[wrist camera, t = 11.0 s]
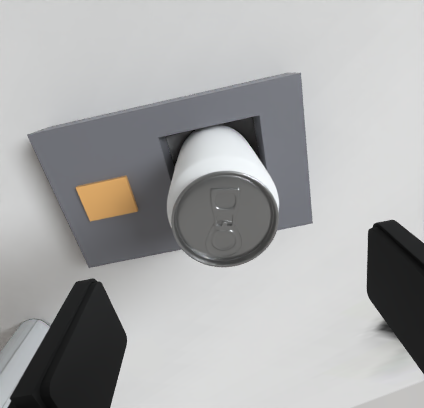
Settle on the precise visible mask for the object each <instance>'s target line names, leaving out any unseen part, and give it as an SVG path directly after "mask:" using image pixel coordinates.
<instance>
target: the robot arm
mask: <svg viewBox="0 0 424 408" xmlns="http://www.w3.org/2000/svg"><path fill="white" fill-rule="evenodd" d="M367 294H368V296H369V299H370V300H371V302H372V303H373V304H374V306H375V307H376V309H377V310H378V311H379V313H380V314H381V316H382V317H383V318H384V320H385V321H386V322H387V324H388V325H389V327H390V328H391V329H392V331H393V332H394V333H395V335H396V336H397V338H398V339H399V340H400V342H401V343H402V344H403V346H404V347H405V349H406V350H407V351H408V353H409V354H410V355H411V357H412V358H413V360H414V361H415V362H416V364H417V365H418V367H419V368H420V369H421V371H422V372H423V373H424V243H423V242H421V241H420V240H419V239H418V238H416V237H415V236H414V235H413V234H411V233H410V232H409V231H408V230H406V229H405V228H404V227H403V226H401V225H400V224H399V223H398V222H396V221H395V220H389V221H384V222H379V223H375V224H374V225H373V228H371V229H369V231H368V260H367ZM126 345H127V336H126V333H125V331H124V329H123V327H122V325H121V322H120V320H119V318H118V316H117V314H116V312H115V310H114V308H113V306H112V304H111V301H110V299H109V297H108V295H107V293H106V291H105V289H104V287H103V285H102V283H101V282H97V281H96V280H95V279H88V280H82V281H78V282H76V283H75V284H74V286H73V288H72V290H71V291H70V293H69V295H68V297H67V298H66V300H65V302H64V304H63V305H62V307H61V309H60V311H59V312H58V314H57V316H56V318H55V319H54V321H53V323H52V325H51V326H50V328H49V330H48V332H47V333H46V335H45V337H44V339H43V340H42V342H41V344H40V346H39V347H38V349H37V351H36V353H35V354H34V356H33V358H32V360H31V361H30V363H29V365H28V367H27V368H26V370H25V372H24V374H23V375H22V377H21V379H20V381H19V382H18V384H17V386H16V388H15V389H14V391H13V393H12V395H11V396H10V398H9V399H10V400H11V402H10V404H9V406H8V408H110V406H111V402H112V398H113V395H114V391H115V387H116V383H117V379H118V375H119V372H120V368H121V364H122V360H123V356H124V353H125V349H126Z"/></svg>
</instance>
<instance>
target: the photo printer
mask: <svg viewBox="0 0 424 408" xmlns="http://www.w3.org/2000/svg"><path fill="white" fill-rule="evenodd" d="M49 328H50V326H48V325H47V324H46V323H44V322H43V321H41V320H37V319H31V320H27V321H25V322H23V323H22V324H21V325H20V326H19V328H18V329H17V330H16V332H15V333H14V334H13V336H12V337H11V338H10V340H9V341H8V342H7V344H6V345H5V346H4V348H3V349H2V350H1V352H0V408H8V406H9V404H10V402H11V400H10V399H9V398H10V396H11V395H12V393H13V391H14V389H15V388H16V386H17V384H18V382H19V381H20V379H21V377H22V375H23V374H24V372H25V370H26V368H27V367H28V365H29V363H30V361H31V360H32V358H33V356H34V354H35V353H36V351H37V349H38V347H39V346H40V344H41V342H42V340H43V339H44V337H45V335H46V333H47V332H48V330H49Z"/></svg>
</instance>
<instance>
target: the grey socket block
mask: <svg viewBox="0 0 424 408" xmlns="http://www.w3.org/2000/svg"><path fill="white" fill-rule="evenodd" d="M249 117H253V121H254V127H255V134H256V141H257V148H258V154H259V160H260V161H261V163H262V164H263V166H264V167H265V169H266V170H267V172H268V173H269V175H270V177H271V178H272V180H273V182H274V184H275V187H276V190H277V193H278V197H279V223H278V228H277V230H281V229H286V228H291V227H296V226H301V225H306V224H311V223H313V222H312V210H311V197H310V184H309V171H308V159H307V146H306V133H305V120H304V108H303V95H302V82H301V73H285V74H280V75H276V76H272V77H267V78H263V79H258V80H254V81H250V82H245V83H241V84H236V85H232V86H228V87H223V88H219V89H214V90H210V91H206V92H201V93H197V94H192V95H188V96H184V97H179V98H175V99H170V100H166V101H162V102H157V103H153V104H148V105H144V106H140V107H135V108H131V109H126V110H122V111H118V112H113V113H109V114H104V115H100V116H96V117H91V118H87V119H82V120H78V121H74V122H69V123H65V124H60V125H56V126H52V127H48V128H45V129H42V130H40V131H37V132H34V133H31V134H28V135H27V136H28V138H29V140H30V142H31V144H32V146H33V149H34V151H35V153H36V155H37V157H38V159H39V161H40V164H41V166H42V168H43V170H44V172H45V174H46V176H47V179H48V181H49V183H50V185H51V187H52V189H53V192H54V194H55V196H56V198H57V200H58V202H59V204H60V207H61V209H62V211H63V213H64V215H65V217H66V219H67V222H68V224H69V226H70V228H71V230H72V232H73V234H74V237H75V239H76V241H77V243H78V245H79V247H80V250H81V252H82V254H83V256H84V258H85V260H86V262H87V265H88V267H89V268H90V267H95V266H100V265H105V264H110V263H115V262H120V261H125V260H130V259H135V258H140V257H145V256H150V255H156V254H161V253H166V252H171V251H176V250H181V247H180V246H179V245H178V243H177V241H176V239H175V237H174V234H173V231H172V228H171V226H170V223H169V220H168V215H167V199H168V193H169V189H170V185H171V181H172V177H173V174H174V170H175V169H174V165H173V162H172V158H171V154H170V151H169V147H168V143H167V140H166V136H168V135H172V134H177V133H181V132H186V131H190V130H195V129H199V128H204V127H208V126H213V125H217V124H222V123H226V122H231V121H236V120H240V119H245V118H249Z"/></svg>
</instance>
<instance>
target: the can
mask: <svg viewBox="0 0 424 408" xmlns="http://www.w3.org/2000/svg"><path fill="white" fill-rule="evenodd" d="M167 215H168V220H169V223H170V226H171V228H172V231H173V234H174V237H175V239H176V241H177V243H178V245H179V246H180V247H181V249H182V250H183V251H184V252H185V253H186V254H187V255H189V256H190V257H191V258H193V259H194V260H196V261H198V262H200V263H203V264H206V265H209V266H214V267H232V266H237V265H241V264H244V263H246V262H249V261H251V260H253V259H254V258H256V257H257V256H259V255H260V254H261V253H262V252H263V251H264V250H265V249H266V248H267V247H268V246H269V245H270V243H271V242H272V240H273V238H274V236H275V234H276V231H277V228H278V223H279V197H278V193H277V190H276V187H275V184H274V182H273V180H272V178H271V177H270V175H269V173H268V172H267V170H266V169H265V167H264V166H263V164H262V163H261V161H260V160H259V158H258V157H257V155H256V154H255V152H254V151H253V149H252V148H251V146H250V145H249V143H248V142H247V141H246V139H245V138H244V137H243V136H242V135H241V134H240V133H239V132H237V131H236V130H234V129H233V128H230V127H228V126H224V125H213V126H208V127H204V128H199V129H197V130H196V131H194V132H193V133H191V134H190V135H189V136H188V138H187V139H186V140H185V142H184V143H183V145H182V147H181V150H180V153H179V156H178V159H177V163H176V166H175V170H174V174H173V177H172V181H171V185H170V189H169V193H168V199H167Z"/></svg>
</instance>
